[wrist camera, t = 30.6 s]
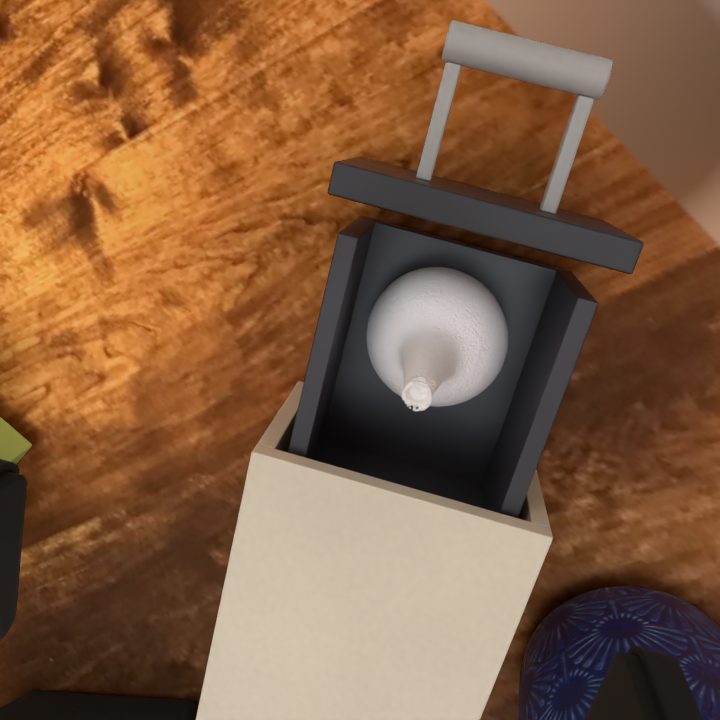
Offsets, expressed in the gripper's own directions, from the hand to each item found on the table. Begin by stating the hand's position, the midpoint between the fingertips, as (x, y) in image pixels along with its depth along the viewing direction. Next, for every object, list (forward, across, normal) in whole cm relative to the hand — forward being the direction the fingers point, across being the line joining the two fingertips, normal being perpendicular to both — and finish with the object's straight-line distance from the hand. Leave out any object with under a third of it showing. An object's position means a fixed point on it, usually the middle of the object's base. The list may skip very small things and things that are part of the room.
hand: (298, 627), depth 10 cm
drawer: (+23, -2, -1) cm, 24 cm away
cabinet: (+24, -2, +14) cm, 28 cm away
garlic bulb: (+22, -2, +1) cm, 23 cm away
